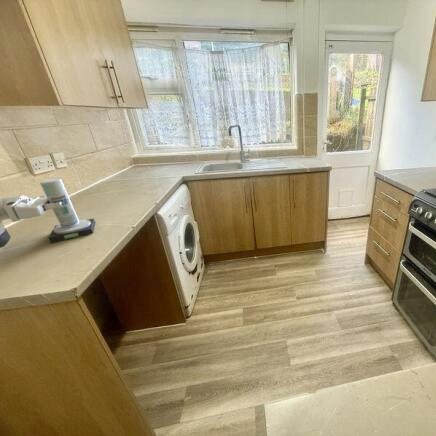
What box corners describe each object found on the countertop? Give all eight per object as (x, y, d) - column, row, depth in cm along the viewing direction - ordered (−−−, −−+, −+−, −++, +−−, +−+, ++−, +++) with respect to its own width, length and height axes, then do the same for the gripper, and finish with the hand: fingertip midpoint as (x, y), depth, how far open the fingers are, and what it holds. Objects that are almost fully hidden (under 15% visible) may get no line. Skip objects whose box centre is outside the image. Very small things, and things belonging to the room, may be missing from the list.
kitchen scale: (50, 243, 98) (46, 236, 97) (57, 230, 109) (54, 224, 108) (93, 234, 105) (90, 227, 104) (95, 222, 116) (93, 216, 115)
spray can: (61, 229, 102) (39, 183, 94) (60, 224, 107) (39, 180, 98) (81, 224, 106) (61, 180, 98) (79, 220, 111) (60, 177, 102)
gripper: (37, 206, 107) (76, 201, 112) (10, 223, 90) (57, 217, 95) (31, 192, 105) (71, 188, 109) (2, 207, 87) (50, 201, 92)
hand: (64, 201), depth 102 cm, fingers open, 5 cm apart
